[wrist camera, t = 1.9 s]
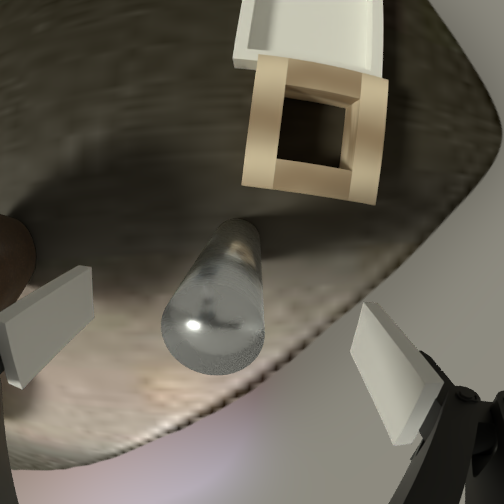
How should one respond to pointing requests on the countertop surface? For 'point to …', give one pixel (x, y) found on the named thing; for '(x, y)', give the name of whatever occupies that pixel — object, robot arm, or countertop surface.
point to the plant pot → (14, 259)
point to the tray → (312, 33)
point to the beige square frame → (326, 92)
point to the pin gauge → (219, 304)
